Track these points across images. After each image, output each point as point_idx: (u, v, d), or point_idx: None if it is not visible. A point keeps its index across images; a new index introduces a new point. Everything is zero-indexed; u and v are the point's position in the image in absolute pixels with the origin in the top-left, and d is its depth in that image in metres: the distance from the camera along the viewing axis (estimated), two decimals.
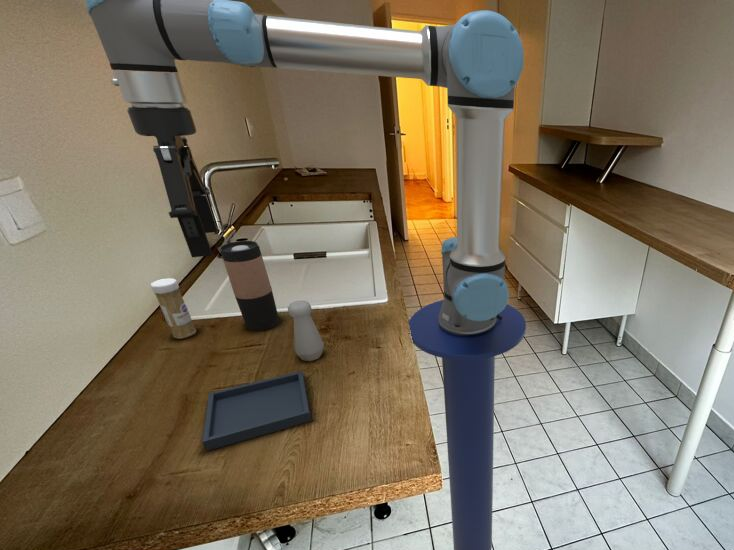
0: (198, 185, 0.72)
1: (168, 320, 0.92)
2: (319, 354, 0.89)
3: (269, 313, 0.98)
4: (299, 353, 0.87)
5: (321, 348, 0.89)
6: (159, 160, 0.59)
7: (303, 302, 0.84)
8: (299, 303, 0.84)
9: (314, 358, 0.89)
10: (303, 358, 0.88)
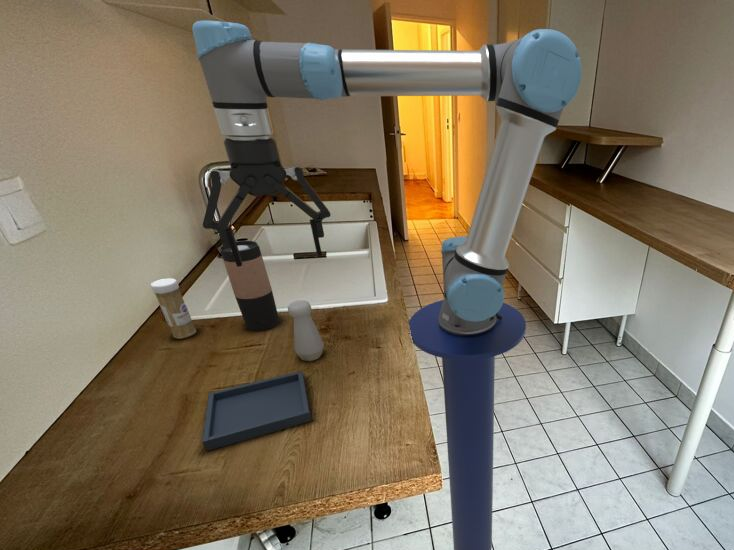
0: None
1: (168, 320, 0.92)
2: (319, 354, 0.89)
3: (269, 313, 0.98)
4: (299, 353, 0.87)
5: (321, 348, 0.89)
6: None
7: (303, 302, 0.84)
8: (299, 303, 0.84)
9: (314, 358, 0.89)
10: (303, 358, 0.88)
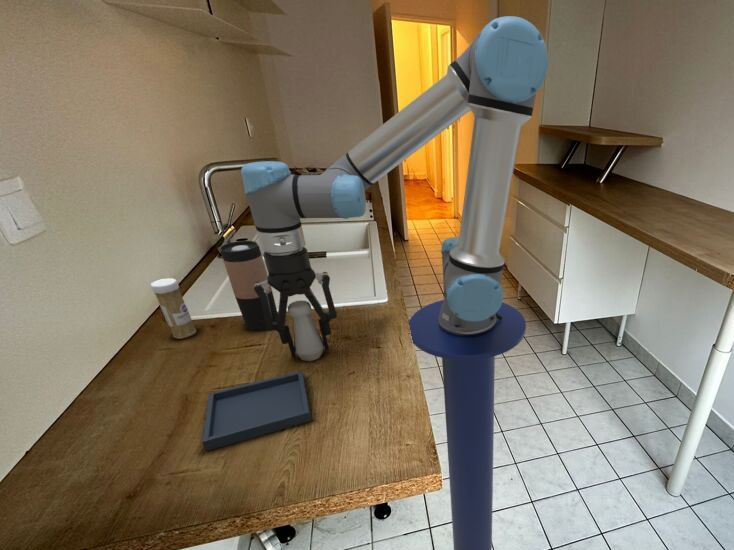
0: None
1: (168, 320, 0.92)
2: (319, 354, 0.89)
3: None
4: (299, 353, 0.87)
5: (321, 348, 0.89)
6: (328, 284, 0.84)
7: (303, 302, 0.84)
8: (299, 303, 0.84)
9: (314, 358, 0.89)
10: (303, 358, 0.88)
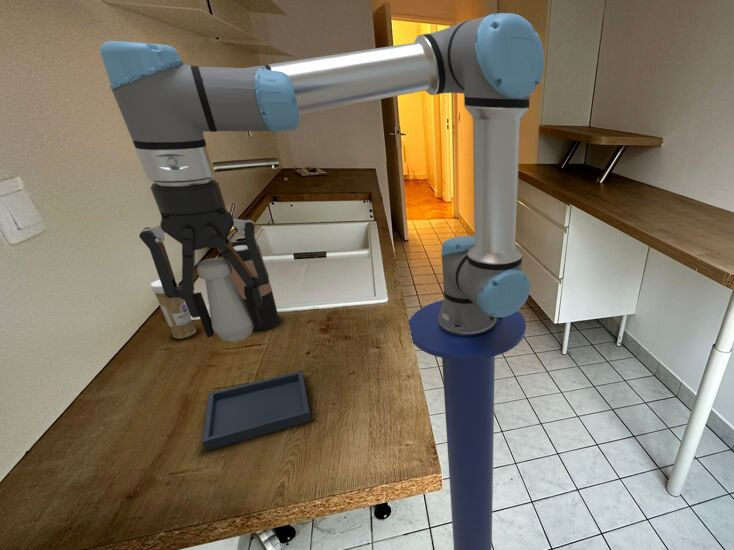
0: None
1: (168, 320, 0.92)
2: (246, 333, 0.66)
3: (269, 313, 0.98)
4: (216, 330, 0.64)
5: (248, 324, 0.66)
6: None
7: (219, 260, 0.62)
8: (213, 261, 0.61)
9: (239, 338, 0.66)
10: (223, 338, 0.65)
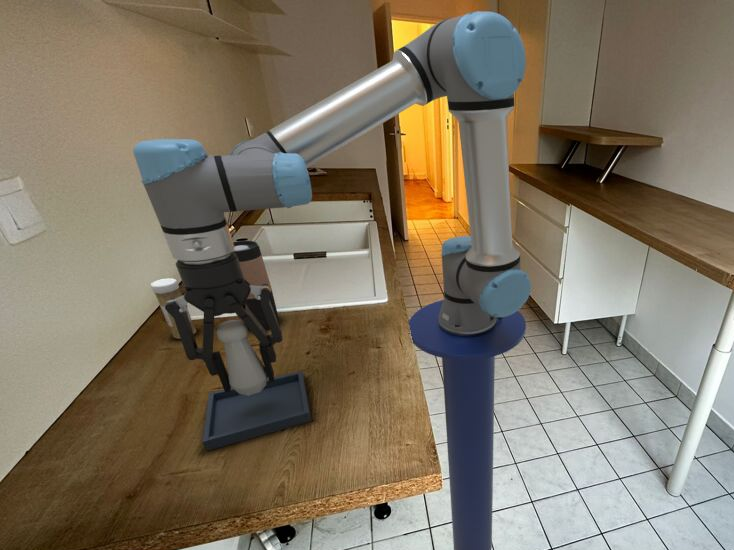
0: None
1: (168, 320, 0.92)
2: (261, 386, 0.71)
3: None
4: (233, 386, 0.69)
5: (263, 379, 0.71)
6: (269, 300, 0.66)
7: (236, 322, 0.66)
8: (231, 324, 0.66)
9: (254, 392, 0.70)
10: (240, 392, 0.70)
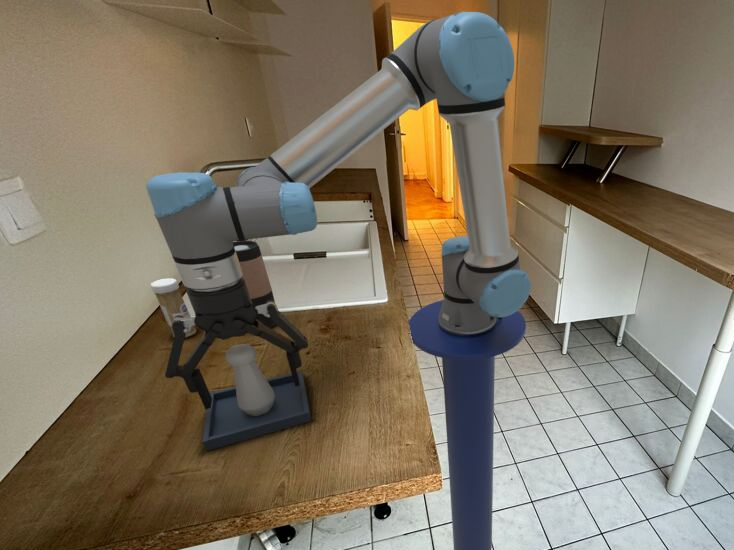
0: None
1: (168, 320, 0.92)
2: (268, 407, 0.73)
3: None
4: (242, 408, 0.71)
5: (270, 400, 0.73)
6: (278, 314, 0.68)
7: (245, 347, 0.68)
8: (240, 348, 0.68)
9: (262, 412, 0.73)
10: (248, 413, 0.72)
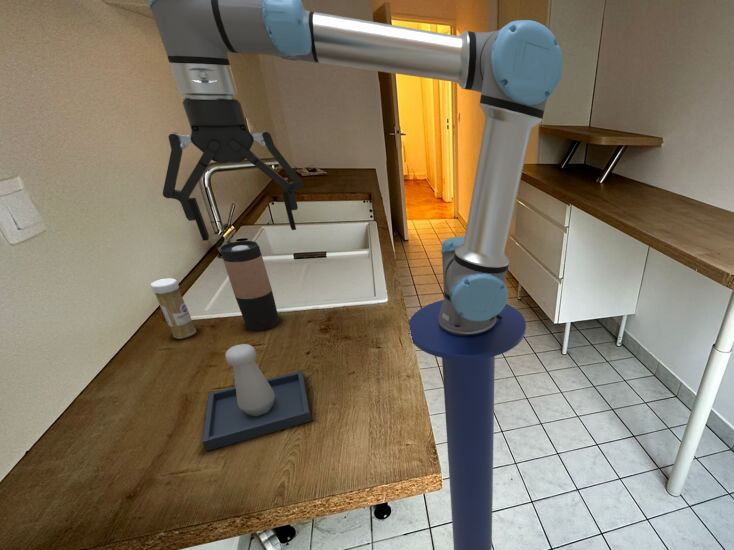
0: None
1: (168, 320, 0.92)
2: (268, 407, 0.73)
3: (269, 313, 0.98)
4: (242, 408, 0.71)
5: (270, 400, 0.73)
6: (273, 143, 0.69)
7: (245, 347, 0.68)
8: (240, 348, 0.68)
9: (262, 412, 0.73)
10: (248, 413, 0.72)
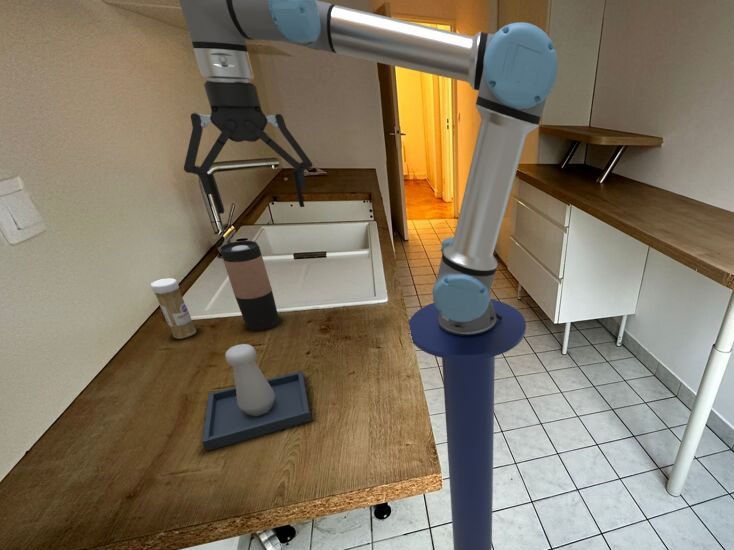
0: None
1: (168, 320, 0.92)
2: (268, 407, 0.73)
3: (269, 313, 0.98)
4: (242, 408, 0.71)
5: (270, 400, 0.73)
6: (285, 125, 0.74)
7: (245, 347, 0.68)
8: (240, 348, 0.68)
9: (262, 412, 0.73)
10: (248, 413, 0.72)
